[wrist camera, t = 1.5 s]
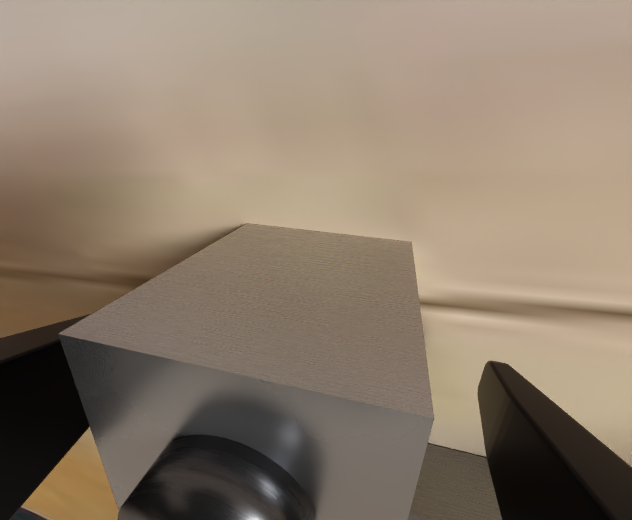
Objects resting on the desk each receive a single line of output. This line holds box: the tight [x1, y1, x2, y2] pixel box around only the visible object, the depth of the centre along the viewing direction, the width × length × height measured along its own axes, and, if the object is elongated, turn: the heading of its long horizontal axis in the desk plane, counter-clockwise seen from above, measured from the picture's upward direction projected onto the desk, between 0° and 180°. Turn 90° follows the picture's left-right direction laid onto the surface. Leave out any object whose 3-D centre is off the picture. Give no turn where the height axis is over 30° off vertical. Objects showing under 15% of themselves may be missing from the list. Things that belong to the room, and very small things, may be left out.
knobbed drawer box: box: [58, 223, 434, 520], centre depth 7 cm, size 5×5×7 cm
